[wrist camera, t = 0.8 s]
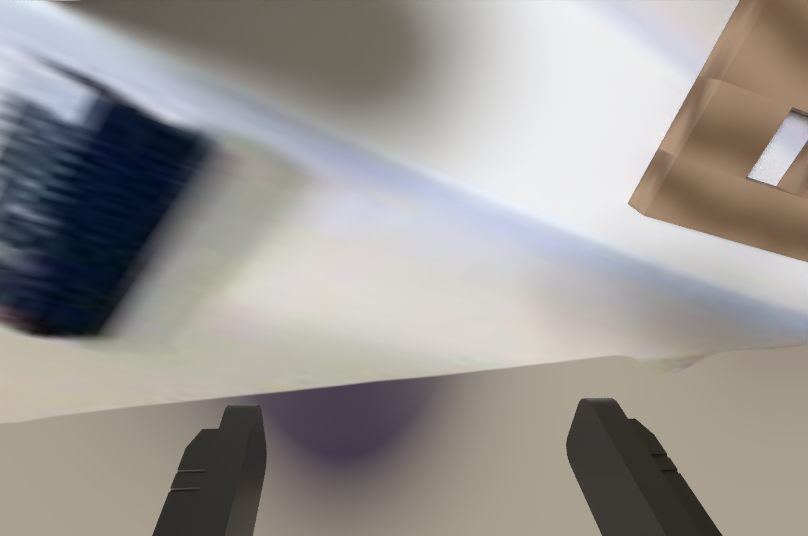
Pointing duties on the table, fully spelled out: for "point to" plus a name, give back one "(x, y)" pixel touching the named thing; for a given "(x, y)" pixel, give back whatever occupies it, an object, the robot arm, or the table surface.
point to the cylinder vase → (62, 0)
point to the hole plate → (738, 136)
